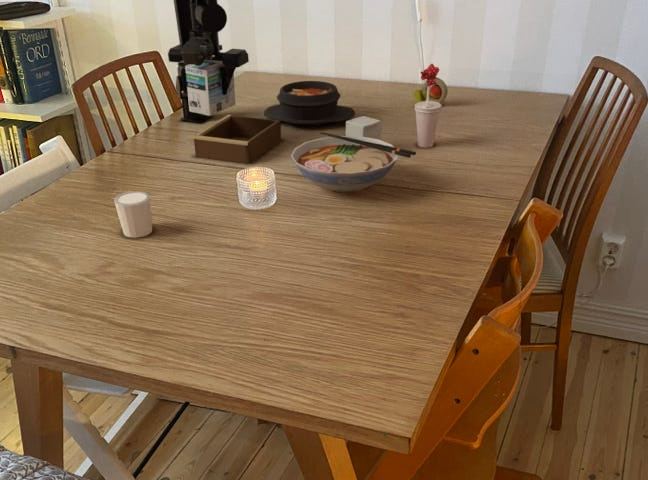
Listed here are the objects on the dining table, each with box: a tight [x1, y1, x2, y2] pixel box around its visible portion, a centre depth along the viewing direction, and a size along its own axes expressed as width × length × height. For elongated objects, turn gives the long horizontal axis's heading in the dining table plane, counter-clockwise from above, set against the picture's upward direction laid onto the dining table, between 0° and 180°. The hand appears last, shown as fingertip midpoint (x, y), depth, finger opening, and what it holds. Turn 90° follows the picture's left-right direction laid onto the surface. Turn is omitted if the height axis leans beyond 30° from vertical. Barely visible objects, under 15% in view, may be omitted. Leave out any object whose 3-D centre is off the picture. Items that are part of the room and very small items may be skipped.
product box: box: [345, 115, 382, 140], centre depth 176 cm, size 6×6×7 cm
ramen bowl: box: [290, 131, 417, 193], centre depth 158 cm, size 25×23×8 cm
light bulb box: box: [185, 60, 236, 117], centre depth 176 cm, size 11×7×11 cm, turn 148°
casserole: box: [262, 80, 356, 127], centre depth 196 cm, size 25×19×8 cm
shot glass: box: [113, 191, 153, 239], centre depth 143 cm, size 7×7×7 cm
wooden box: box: [192, 114, 282, 165], centre depth 181 cm, size 15×18×5 cm
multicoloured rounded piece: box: [412, 63, 449, 105], centre depth 203 cm, size 6×11×9 cm
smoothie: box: [413, 85, 442, 149], centre depth 176 cm, size 6×6×14 cm
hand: (211, 93), depth 177 cm, fingers closed on light bulb box, 7 cm apart
